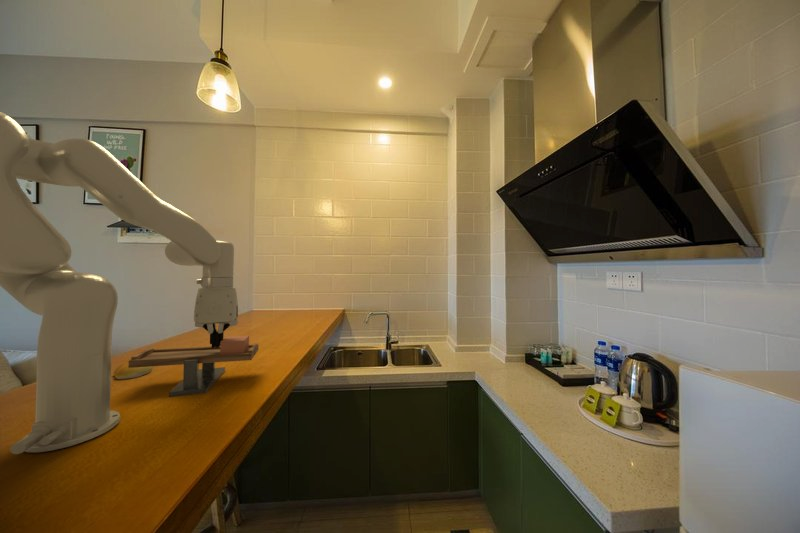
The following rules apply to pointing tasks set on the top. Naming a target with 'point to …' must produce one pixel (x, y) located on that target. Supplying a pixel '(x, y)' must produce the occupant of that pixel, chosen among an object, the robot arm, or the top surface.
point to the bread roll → (130, 371)
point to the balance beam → (187, 356)
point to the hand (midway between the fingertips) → (216, 346)
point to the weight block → (234, 345)
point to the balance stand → (197, 378)
